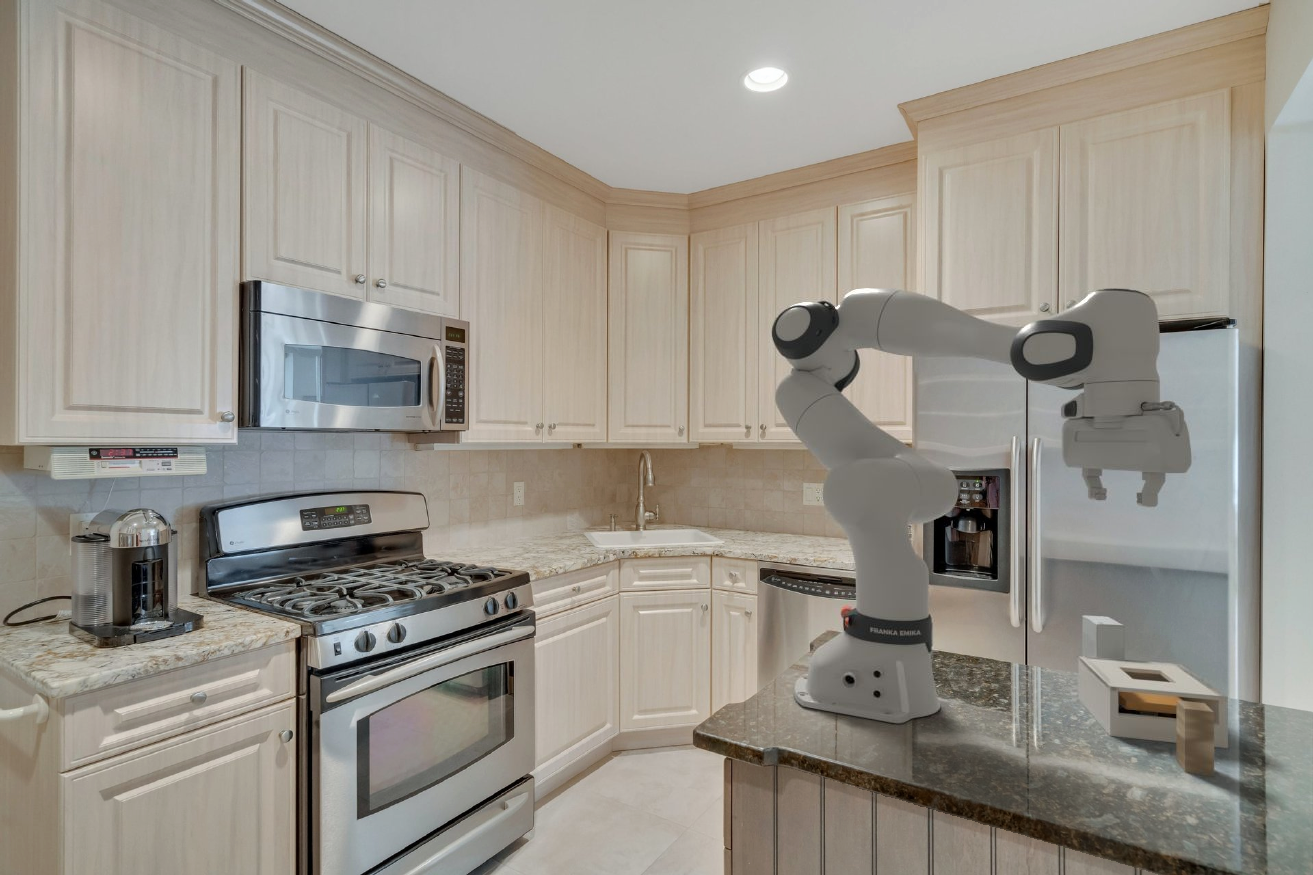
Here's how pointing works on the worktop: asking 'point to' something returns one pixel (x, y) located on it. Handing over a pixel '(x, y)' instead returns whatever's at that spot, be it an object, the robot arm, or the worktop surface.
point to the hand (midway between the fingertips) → (1121, 503)
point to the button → (1148, 703)
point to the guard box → (1113, 675)
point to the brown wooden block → (1195, 737)
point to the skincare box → (1102, 638)
